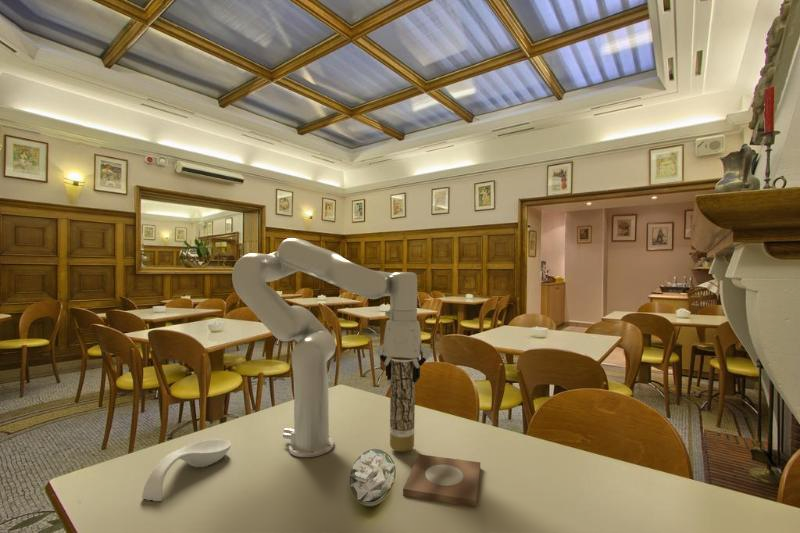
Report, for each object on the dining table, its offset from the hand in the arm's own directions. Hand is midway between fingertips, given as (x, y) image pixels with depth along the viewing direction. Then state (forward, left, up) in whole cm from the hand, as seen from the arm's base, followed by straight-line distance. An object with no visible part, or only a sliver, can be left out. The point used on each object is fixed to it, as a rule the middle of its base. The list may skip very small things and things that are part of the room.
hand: (402, 379), depth 103 cm
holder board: (+13, -12, -20) cm, 27 cm away
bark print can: (0, 0, -19) cm, 19 cm away
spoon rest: (-48, -25, -20) cm, 58 cm away
